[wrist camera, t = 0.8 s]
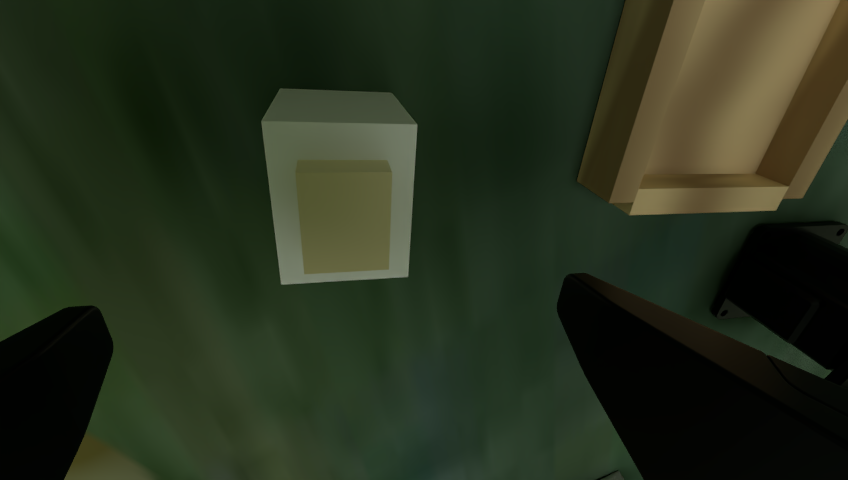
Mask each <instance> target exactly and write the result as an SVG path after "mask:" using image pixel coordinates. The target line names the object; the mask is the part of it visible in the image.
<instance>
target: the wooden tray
mask: <svg viewBox="0 0 848 480" xmlns="http://www.w3.org/2000/svg"><path fill="white" fill-rule="evenodd" d="M847 119H848V0H626V1H625V4H624V8H623V12H622V15H621V19H620V23H619V27H618V30H617V34H616V38H615V41H614V45H613V49H612V52H611V56H610V60H609V64H608V67H607V71H606V75H605V78H604V82H603V86H602V89H601V93H600V97H599V101H598V104H597V108H596V112H595V115H594V119H593V123H592V127H591V130H590V134H589V138H588V141H587V145H586V149H585V152H584V156H583V160H582V164H581V167H580V171H579V175H578V178H577V182H579V183H580V184H582V185H583V186H585V187H586V188H588V189H589V190H591V191H592V192H593V193H595V194H596V195H598V196H599V197H601V198H602V199H604V200H605V201H607V202H608V203H612V204H613V205H615V206H616V207H618V208H619V209H621V210H622V211H624V212H625V213H627V214H628V215H653V214H684V213H715V212H745V211H776V210H777V208H778V206H779V204H780V202H781V200H782V199H793V198H803V196H804V195H805V193H806V191H807V189H808V188H809V186H810V184H811V182H812V181H813V179H814V177H815V175H816V174H817V172H818V170H819V168H820V166H821V165H822V163H823V161H824V159H825V158H826V156H827V154H828V152H829V151H830V149H831V147H832V145H833V144H834V142H835V140H836V138H837V137H838V135H839V133H840V131H841V130H842V128H843V126H844V124H845V123H846V121H847Z"/></svg>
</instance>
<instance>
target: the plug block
mask: <svg viewBox="0 0 848 480" xmlns="http://www.w3.org/2000/svg"><path fill="white" fill-rule="evenodd" d="M261 124H262V132H263V140H264V149H265V157H266V165H267V173H268V181H269V189H270V197H271V205H272V213H273V222H274V230H275V238H276V246H277V254H278V262H279V270H280V278H281V285H283V284H300V283H316V282H333V281H349V280H365V279H382V278H398V277H408V269H409V253H410V237H411V221H412V205H413V188H414V172H415V156H416V140H417V123H416V122H415V121H414V120H413V118H412V117H411V116H410V115H409V113H408V112H407V111H406V110H405V108H404V107H403V106H402V105H401V103H400V102H399V101H398V100H397V98H396V97H395V96H394V95H393V93H387V92H361V91H335V90H309V89H283V88H280V89H279V91H278V93H277V95H276V96H275V98H274V100H273V101H272V103H271V105H270V107H269V108H268V110H267V112H266V114H265V115H264V117H263V119H262V120H261Z"/></svg>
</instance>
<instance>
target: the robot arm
mask: <svg viewBox="0 0 848 480" xmlns="http://www.w3.org/2000/svg"><path fill="white" fill-rule="evenodd" d="M847 230H848V225H846V224H843V223H841V222H818V223H794V224H771V225H761V226H760V227H758V228H757V229H756V230H755V231H754V232H753V234H752V236H751V238H750V240H749V242H748V244H747V245H746V247H745V249H744V251H743V253H742V255H741V257H740V259H739V261H738V262H737V264H736V266H735V268H734V270H733V272H732V274H731V276H730V277H729V279H728V281H727V283H726V285H725V287H724V289H723V291H722V293H721V294H720V296H719V298H718V300H717V302H716V304H715V306H714V308H713V310H712V314H713V315H714V316H715V317H717V318H718V319H729V318H738V317H748V316H751V317H752V318H754V319H755V320H757V321H758V322H759V323H761V324H762V325H764V326H765V327H766V328H768V329H769V330H770V331H772V332H773V333H775V334H776V335H777V336H779V337H780V338H782V339H783V340H784V341H786V342H788V343H790V344H792V345H793V346H795V347H796V348H797V349H799V350H800V351H802V352H803V353H804V354H806V355H807V356H809V357H810V358H811V359H813V360H814V361H816V362H817V363H818V364H820V365H821V366H822V367H824V368H825V369H828V370H829V369H830V370H831V371H832V372H831V373H830V374H829V375H828V376H827V377H826V378H825V379H823V378H820V377H818V376H816V375H814V374H811V373H809V372H807V371H804V370H802V369H800V368H797V367H795V366H793V365H791V364H788V363H786V362H784V361H782V360H779V359H777V358H775V357H773V356H770V355H767V356H766V355H765V353H763V352H761V351H759V350H757V349H755V348H752V347H750V346H748V345H746V344H743V343H741V342H739V341H737V340H734V339H732V338H730V337H728V336H725V335H723V334H721V333H719V332H717V331H714V330H712V329H710V328H708V327H705V326H703V325H701V324H699V323H696V322H694V321H692V320H690V319H687V318H685V317H683V316H681V315H678V314H676V313H674V312H672V311H670V310H667V309H665V308H663V307H661V306H658V305H656V304H654V303H652V302H649V301H647V300H645V299H643V298H640V297H638V296H636V295H634V294H631V293H629V292H627V291H625V290H623V289H620V288H618V287H616V286H614V285H611V284H609V283H607V282H605V281H602V280H600V279H598V278H596V277H593V276H591V275H589V274H586V273H575V274H568V275H567V276H566V277H565V278H564V281H563V285H562V288H561V292H560V295H559V299H558V302H557V312H558V315H559V318H560V320H561V322H562V325H563V327H564V329H565V332H566V334H567V336H568V338H569V341H570V343H571V345H572V348H573V350H574V352H575V354H576V357H577V359H578V361H579V364H580V366H581V368H582V370H583V372H584V374H585V376H586V378H587V380H588V382H589V383H590V385H591V387H592V389H593V391H594V392H595V394H596V396H597V398H598V399H599V401H600V403H601V405H602V407H603V408H604V410H605V412H606V414H607V415H608V417H609V419H610V421H611V422H612V424H613V426H614V428H615V430H616V431H617V433H618V435H619V437H620V438H621V440H622V442H623V444H624V445H625V447H626V449H627V451H628V453H629V454H630V456H631V458H632V460H633V461H634V463H635V465H636V467H637V469H638V470H639V472H640V474H641V476H642V477H643V479H644V480H848V249H847V248H845V247H843V246H841V245H838V244H839V243H840V241H841V240H842V238H843V237H844V235H845V234H846V232H847ZM112 354H113V341H112V338H111V335H110V333H109V330H108V328H107V325H106V323H105V321H104V318H103V316H102V313H101V311H100V310H99V309H98V308H97V307H95V306H75V307H67V308H64V309H62V310H60V311H58V312H56V313H54V314H52V315H50V316H49V317H47V318H45V319H43V320H41V321H39V322H37V323H35V324H33V325H31V326H30V327H28V328H26V329H24V330H22V331H20V332H18V333H16V334H14V335H12V336H10V337H9V338H7V339H5V340H3V341H1V342H0V480H64V478H65V476H66V474H67V472H68V470H69V468H70V466H71V464H72V462H73V459H74V457H75V455H76V453H77V451H78V449H79V446H80V444H81V442H82V440H83V437H84V435H85V432H86V430H87V427H88V424H89V422H90V419H91V416H92V413H93V410H94V407H95V404H96V401H97V398H98V395H99V392H100V389H101V387H102V384H103V381H104V378H105V375H106V372H107V369H108V366H109V363H110V360H111V357H112Z"/></svg>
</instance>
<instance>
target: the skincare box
mask: <svg viewBox="0 0 848 480" xmlns="http://www.w3.org/2000/svg"><path fill="white" fill-rule="evenodd" d="M601 480H625V479H624V478H623V476H622V475H621V474H620V472H619V471H617V472H614V473H612V474H611V475H609V476H607V477H605V478H603V479H601Z"/></svg>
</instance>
